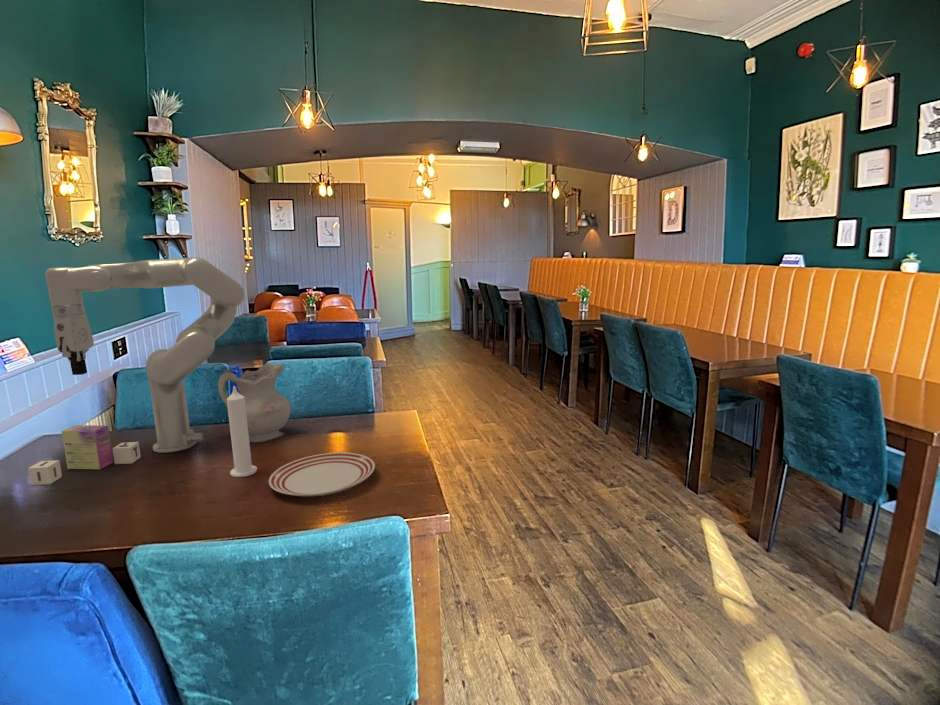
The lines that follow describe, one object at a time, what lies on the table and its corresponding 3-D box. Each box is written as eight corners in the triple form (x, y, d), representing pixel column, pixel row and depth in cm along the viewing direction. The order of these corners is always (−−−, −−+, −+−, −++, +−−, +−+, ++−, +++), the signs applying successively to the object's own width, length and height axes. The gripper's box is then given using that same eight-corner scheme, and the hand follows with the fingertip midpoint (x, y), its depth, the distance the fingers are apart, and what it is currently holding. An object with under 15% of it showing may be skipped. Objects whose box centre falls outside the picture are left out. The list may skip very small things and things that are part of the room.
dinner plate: (278, 515, 130) (277, 501, 130) (262, 475, 154) (261, 463, 154) (389, 489, 143) (389, 477, 142) (359, 455, 167) (358, 445, 166)
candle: (262, 468, 158) (253, 383, 154) (245, 478, 152) (235, 390, 147) (242, 466, 161) (233, 382, 156) (224, 475, 154) (214, 388, 149)
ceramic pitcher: (248, 455, 172) (244, 378, 166) (210, 441, 182) (205, 367, 176) (303, 435, 190) (301, 364, 184) (265, 423, 200) (262, 355, 194)
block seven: (141, 457, 170) (139, 441, 169) (132, 463, 165) (130, 447, 164) (124, 458, 170) (121, 442, 169) (114, 464, 165) (112, 447, 164)
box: (114, 462, 167) (108, 424, 164) (100, 470, 161) (93, 431, 159) (82, 462, 168) (76, 424, 165) (67, 469, 162) (60, 430, 160)
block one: (62, 477, 157) (59, 459, 156) (50, 484, 152) (47, 466, 151) (43, 477, 156) (40, 460, 156) (30, 485, 151) (27, 467, 150)
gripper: (66, 313, 151) (78, 379, 154) (97, 307, 165) (107, 367, 169) (37, 315, 150) (49, 381, 154) (70, 308, 165) (81, 369, 168)
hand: (79, 373), depth 161 cm, fingers closed
